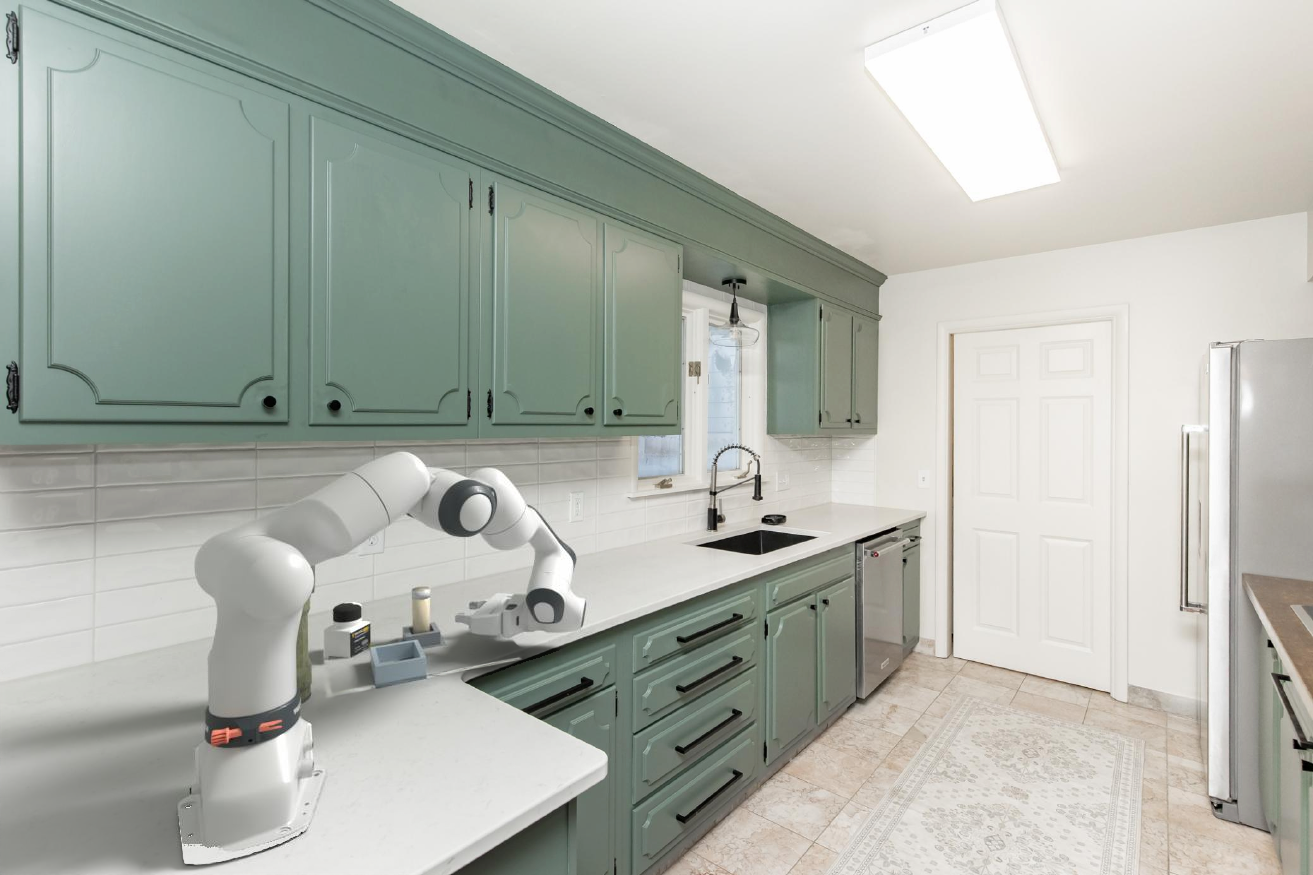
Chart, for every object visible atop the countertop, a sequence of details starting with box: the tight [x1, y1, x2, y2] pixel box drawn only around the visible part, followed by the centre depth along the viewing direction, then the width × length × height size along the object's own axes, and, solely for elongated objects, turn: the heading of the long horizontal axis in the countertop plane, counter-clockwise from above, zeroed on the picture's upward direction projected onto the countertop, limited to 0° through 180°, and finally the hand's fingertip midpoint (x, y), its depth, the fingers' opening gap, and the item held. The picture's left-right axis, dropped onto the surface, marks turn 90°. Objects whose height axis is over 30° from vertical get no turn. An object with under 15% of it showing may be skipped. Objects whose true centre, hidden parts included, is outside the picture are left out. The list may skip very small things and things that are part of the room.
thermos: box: [296, 565, 316, 705], centre depth 121 cm, size 9×12×35 cm
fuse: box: [411, 586, 431, 634], centre depth 150 cm, size 4×4×13 cm
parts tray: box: [369, 640, 427, 689], centre depth 135 cm, size 12×10×4 cm
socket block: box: [396, 621, 447, 650], centre depth 151 cm, size 10×10×4 cm
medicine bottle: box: [323, 601, 372, 660], centre depth 144 cm, size 7×7×12 cm
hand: (463, 611), depth 150 cm, fingers open, 8 cm apart
